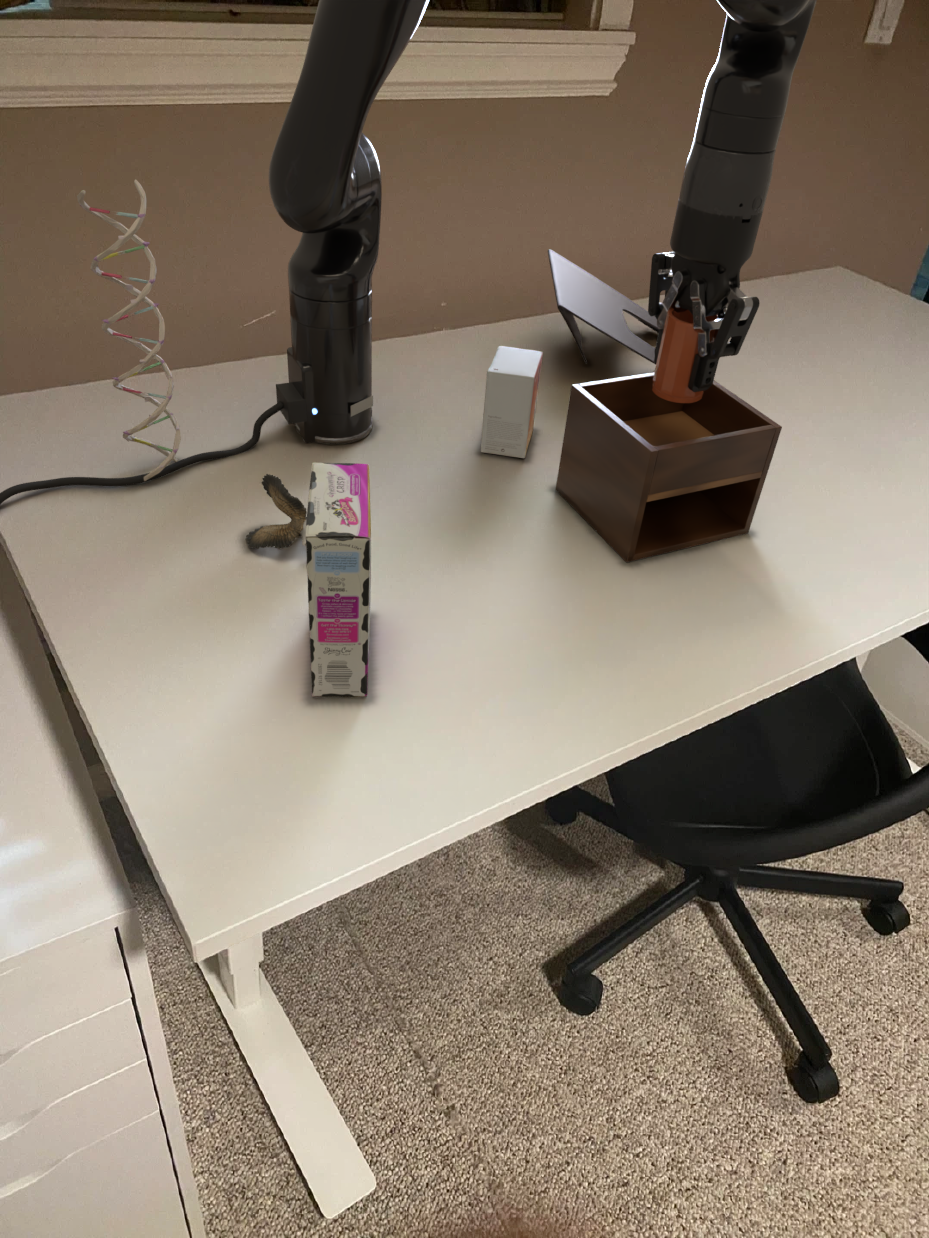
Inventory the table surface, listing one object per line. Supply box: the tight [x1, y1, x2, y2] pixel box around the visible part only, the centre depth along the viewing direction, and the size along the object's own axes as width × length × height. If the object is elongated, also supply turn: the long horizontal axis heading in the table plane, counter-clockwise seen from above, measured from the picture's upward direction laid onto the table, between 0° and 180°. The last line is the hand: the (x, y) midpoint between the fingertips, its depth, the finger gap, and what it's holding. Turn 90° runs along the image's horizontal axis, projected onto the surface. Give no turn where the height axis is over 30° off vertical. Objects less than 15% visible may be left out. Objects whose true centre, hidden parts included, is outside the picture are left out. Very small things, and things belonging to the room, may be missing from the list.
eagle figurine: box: [245, 473, 307, 550], centre depth 91 cm, size 8×7×9 cm
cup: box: [652, 309, 718, 403], centre depth 91 cm, size 5×5×8 cm
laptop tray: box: [547, 248, 659, 366], centre depth 134 cm, size 23×23×9 cm
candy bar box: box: [305, 462, 372, 699], centre depth 75 cm, size 11×5×16 cm, turn 5°
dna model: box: [76, 179, 182, 481], centre depth 92 cm, size 7×6×30 cm
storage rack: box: [555, 371, 783, 563], centre depth 98 cm, size 16×15×13 cm
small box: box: [480, 345, 544, 459], centre depth 109 cm, size 8×6×10 cm
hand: (680, 376), depth 92 cm, fingers closed on cup, 5 cm apart
